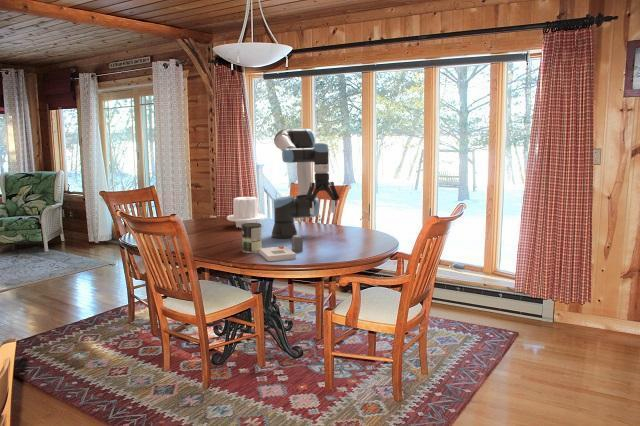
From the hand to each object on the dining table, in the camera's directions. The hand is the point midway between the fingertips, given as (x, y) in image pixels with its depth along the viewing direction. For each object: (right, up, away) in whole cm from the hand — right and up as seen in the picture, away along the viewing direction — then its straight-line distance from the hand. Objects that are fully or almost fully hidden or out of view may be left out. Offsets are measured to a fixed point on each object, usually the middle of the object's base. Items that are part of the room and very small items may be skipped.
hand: (322, 213), depth 273 cm
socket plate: (-23, -21, -10) cm, 33 cm away
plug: (-13, -20, +1) cm, 24 cm away
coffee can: (-37, -20, +1) cm, 42 cm away
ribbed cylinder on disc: (-50, -9, +69) cm, 86 cm away
